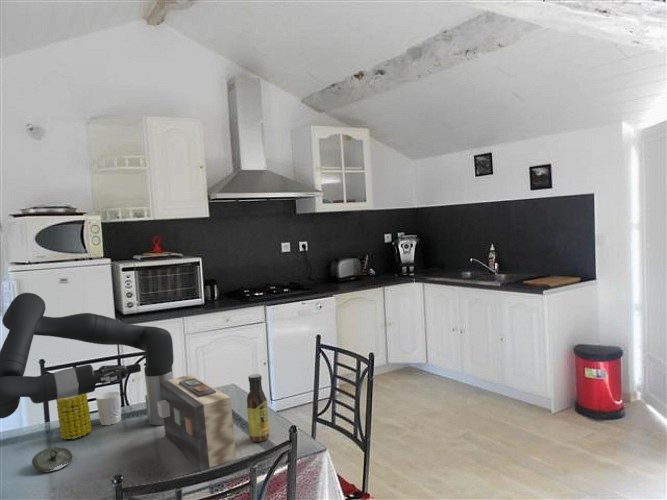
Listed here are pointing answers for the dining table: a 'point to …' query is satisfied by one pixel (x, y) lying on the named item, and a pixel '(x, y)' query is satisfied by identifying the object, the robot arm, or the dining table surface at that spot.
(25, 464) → the dining table surface
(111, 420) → the white cup
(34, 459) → the lid
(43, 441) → the dining table surface
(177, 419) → the sage key
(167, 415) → the ivory key
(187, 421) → the terracotta key
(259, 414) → the sauce bottle
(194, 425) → the keypad
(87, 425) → the food
